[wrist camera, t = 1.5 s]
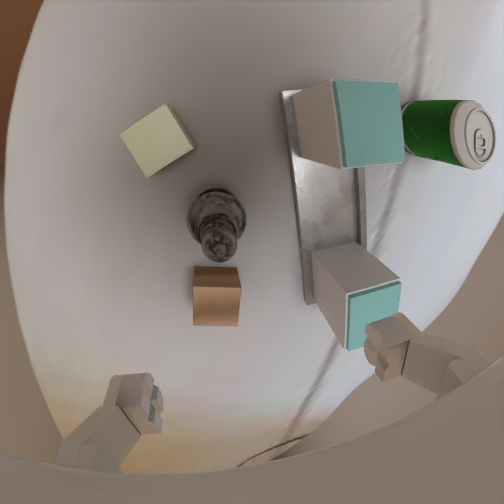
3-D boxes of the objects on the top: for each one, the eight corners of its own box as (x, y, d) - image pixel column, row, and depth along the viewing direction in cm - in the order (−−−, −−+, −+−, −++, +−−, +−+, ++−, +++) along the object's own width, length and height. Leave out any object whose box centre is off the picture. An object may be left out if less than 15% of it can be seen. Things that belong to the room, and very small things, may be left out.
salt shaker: (246, 189, 32) (267, 219, 21) (238, 239, 34) (253, 292, 23) (192, 182, 30) (183, 210, 19) (186, 234, 33) (177, 286, 22)
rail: (279, 92, 28) (284, 89, 26) (345, 89, 28) (354, 87, 26) (304, 300, 38) (309, 309, 36) (358, 286, 39) (365, 294, 37)
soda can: (393, 154, 32) (460, 170, 21) (391, 97, 29) (459, 93, 18) (434, 157, 33) (498, 173, 22) (433, 105, 30) (498, 107, 19)
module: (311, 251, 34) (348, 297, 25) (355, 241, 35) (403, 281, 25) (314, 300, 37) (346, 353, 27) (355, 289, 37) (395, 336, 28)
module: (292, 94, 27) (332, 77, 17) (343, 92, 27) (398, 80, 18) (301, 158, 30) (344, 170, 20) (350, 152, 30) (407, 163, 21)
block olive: (132, 134, 27) (119, 134, 23) (172, 108, 27) (165, 103, 22) (156, 171, 29) (146, 178, 25) (195, 146, 29) (193, 148, 24)
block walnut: (194, 265, 34) (193, 286, 30) (236, 267, 35) (241, 287, 31) (194, 301, 36) (193, 325, 32) (233, 302, 37) (237, 326, 32)
